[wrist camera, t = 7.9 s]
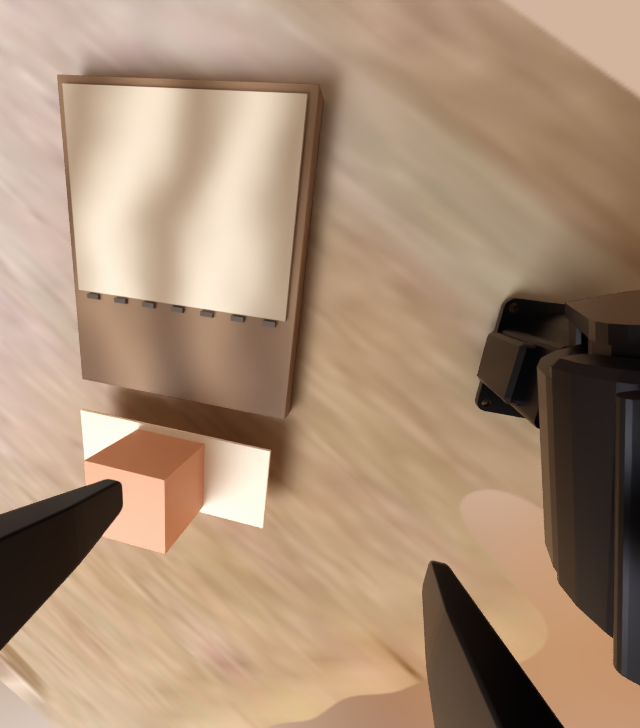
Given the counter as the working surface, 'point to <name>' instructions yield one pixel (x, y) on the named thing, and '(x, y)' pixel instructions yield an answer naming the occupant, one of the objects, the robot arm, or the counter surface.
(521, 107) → the counter surface
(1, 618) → the robot arm
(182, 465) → the butter dish
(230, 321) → the board
